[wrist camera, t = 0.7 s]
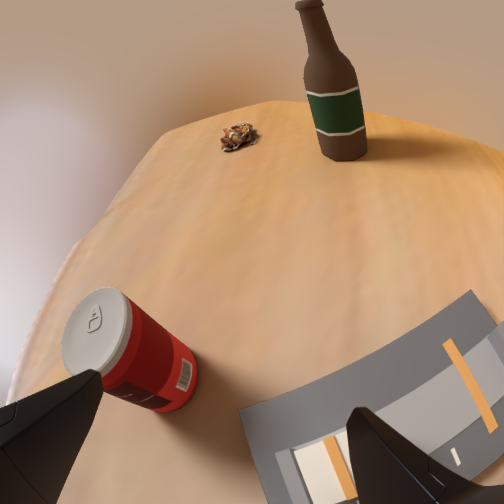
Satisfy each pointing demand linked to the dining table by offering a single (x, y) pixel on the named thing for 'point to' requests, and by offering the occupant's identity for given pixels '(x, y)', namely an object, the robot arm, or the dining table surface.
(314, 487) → the fader tab
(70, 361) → the canned food
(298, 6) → the beer bottle
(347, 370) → the console plate
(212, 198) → the dining table surface
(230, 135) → the pastry
